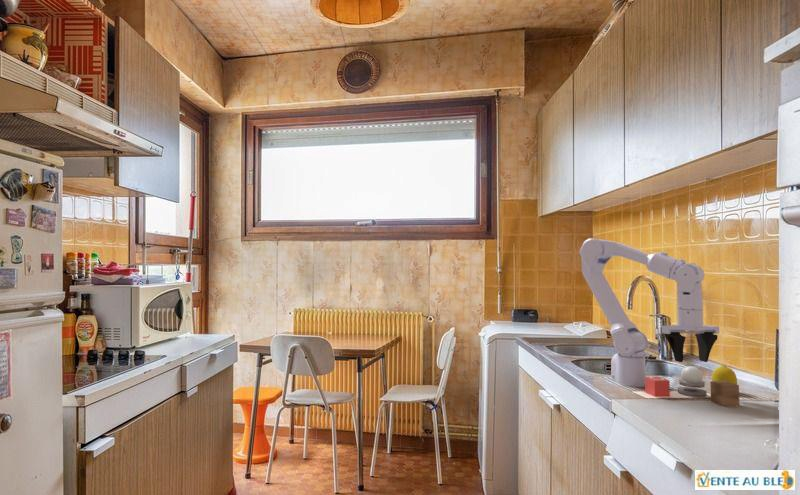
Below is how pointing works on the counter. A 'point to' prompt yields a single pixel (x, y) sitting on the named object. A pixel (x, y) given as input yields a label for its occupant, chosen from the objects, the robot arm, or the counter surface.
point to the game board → (679, 393)
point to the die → (657, 386)
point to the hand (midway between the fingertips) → (691, 361)
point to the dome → (691, 377)
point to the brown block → (724, 393)
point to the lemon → (724, 375)
